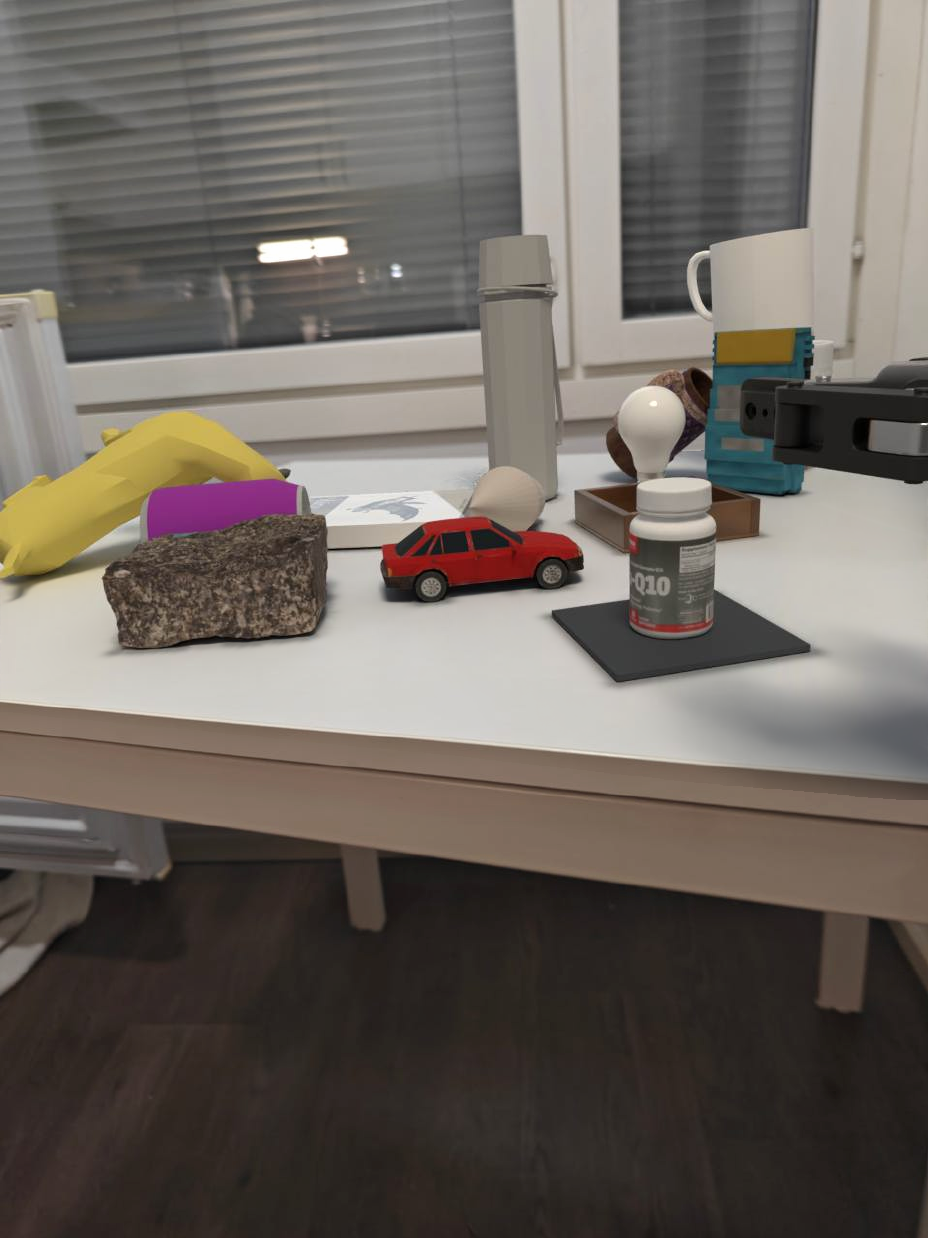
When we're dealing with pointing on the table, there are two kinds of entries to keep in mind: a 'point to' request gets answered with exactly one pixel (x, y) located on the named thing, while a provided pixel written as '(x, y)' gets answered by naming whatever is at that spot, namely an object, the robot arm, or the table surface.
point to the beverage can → (218, 505)
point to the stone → (222, 582)
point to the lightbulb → (651, 428)
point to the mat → (674, 640)
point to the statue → (118, 487)
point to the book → (386, 515)
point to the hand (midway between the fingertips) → (830, 394)
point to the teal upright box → (725, 445)
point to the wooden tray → (616, 508)
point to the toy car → (475, 556)
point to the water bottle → (520, 357)
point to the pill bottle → (672, 559)
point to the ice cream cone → (508, 498)
